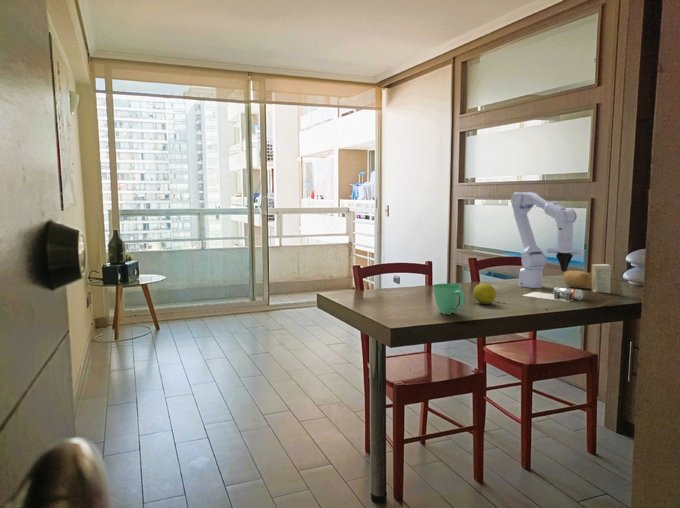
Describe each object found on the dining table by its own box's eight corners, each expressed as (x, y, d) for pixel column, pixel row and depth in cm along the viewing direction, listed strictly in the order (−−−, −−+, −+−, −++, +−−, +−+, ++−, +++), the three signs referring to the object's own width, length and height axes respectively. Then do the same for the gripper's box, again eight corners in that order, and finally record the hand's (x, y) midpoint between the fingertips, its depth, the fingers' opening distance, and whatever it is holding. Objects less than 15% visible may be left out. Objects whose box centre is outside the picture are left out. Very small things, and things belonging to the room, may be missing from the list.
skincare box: (606, 292, 213) (607, 263, 212) (610, 294, 209) (611, 265, 208) (590, 292, 214) (591, 263, 213) (594, 294, 210) (595, 265, 208)
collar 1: (554, 299, 198) (554, 291, 197) (563, 296, 203) (563, 288, 203) (557, 299, 197) (557, 291, 196) (566, 296, 202) (566, 289, 202)
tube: (552, 296, 200) (554, 286, 201) (557, 297, 203) (558, 287, 203) (578, 299, 193) (579, 288, 193) (582, 300, 196) (583, 289, 196)
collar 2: (565, 300, 194) (565, 292, 194) (574, 297, 200) (574, 290, 200) (569, 301, 193) (569, 293, 193) (578, 297, 199) (578, 290, 199)
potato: (574, 285, 232) (574, 268, 231) (597, 290, 218) (597, 272, 217) (556, 286, 229) (556, 269, 228) (578, 291, 216) (578, 273, 215)
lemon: (499, 305, 191) (500, 285, 190) (480, 306, 190) (480, 286, 189) (488, 300, 202) (488, 280, 201) (469, 301, 201) (469, 281, 200)
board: (521, 297, 206) (521, 295, 206) (534, 293, 214) (534, 291, 214) (568, 303, 192) (568, 301, 192) (580, 299, 200) (580, 297, 200)
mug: (427, 311, 184) (427, 284, 183) (450, 309, 188) (450, 282, 187) (451, 320, 170) (451, 291, 169) (475, 317, 174) (475, 288, 173)
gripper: (543, 238, 210) (542, 270, 212) (579, 240, 199) (578, 274, 201) (551, 237, 215) (550, 268, 216) (586, 239, 204) (585, 272, 206)
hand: (564, 271), depth 209 cm, fingers closed
